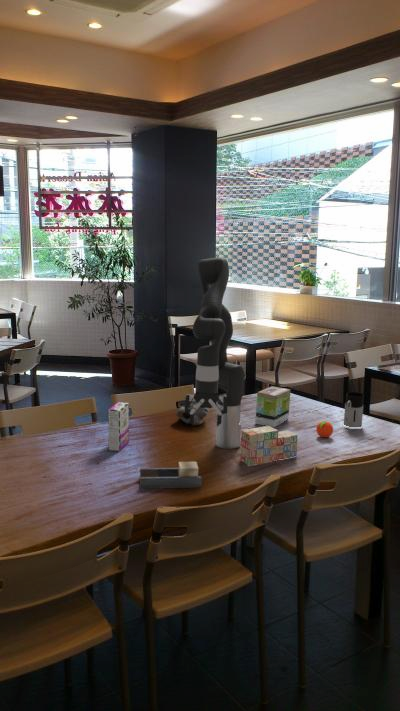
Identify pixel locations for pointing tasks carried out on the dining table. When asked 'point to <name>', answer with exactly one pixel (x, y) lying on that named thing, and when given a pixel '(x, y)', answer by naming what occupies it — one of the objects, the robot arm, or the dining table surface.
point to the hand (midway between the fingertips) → (205, 424)
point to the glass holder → (353, 409)
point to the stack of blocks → (266, 445)
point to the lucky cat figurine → (198, 414)
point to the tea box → (272, 406)
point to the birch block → (188, 469)
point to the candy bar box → (118, 426)
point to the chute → (167, 478)
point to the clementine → (324, 429)
